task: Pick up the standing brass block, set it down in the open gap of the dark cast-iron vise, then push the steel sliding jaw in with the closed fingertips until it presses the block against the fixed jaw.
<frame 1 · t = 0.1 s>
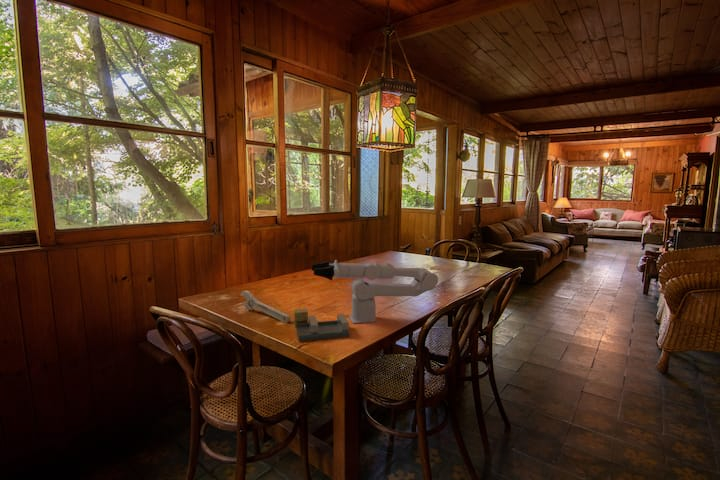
hand: (312, 269, 142), 22 cm above the table, tool horizontal, fingers open, 7 cm apart
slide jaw: (313, 325, 135), point 3 cm above the table, slide at 0.0 cm
wrench: (264, 315, 155), on the table
brass block: (301, 325, 144), on the table
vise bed: (322, 332, 137), on the table
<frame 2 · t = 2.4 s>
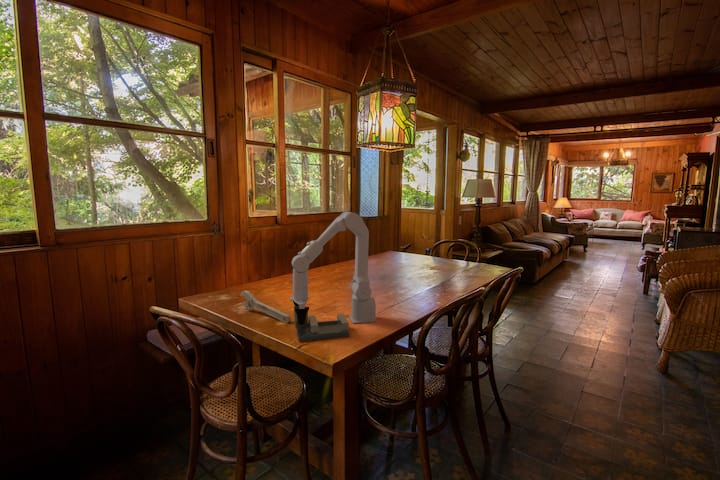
hand: (300, 320, 143), 2 cm above the table, tool pointing down, fingers open, 7 cm apart
nothing on the table moved.
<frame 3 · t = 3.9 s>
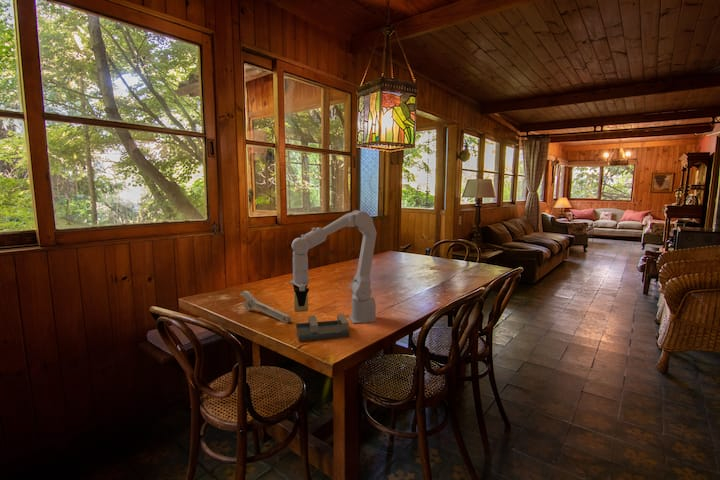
hand: (301, 304, 142), 9 cm above the table, tool pointing down, fingers closed on brass block, 4 cm apart
brass block: (301, 310, 143), point 6 cm above the table, touching gripper
everything else where it was.
when the fingers open (4 cm above the table, at t = 5.8 s): brass block stays where it is, resting on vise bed.
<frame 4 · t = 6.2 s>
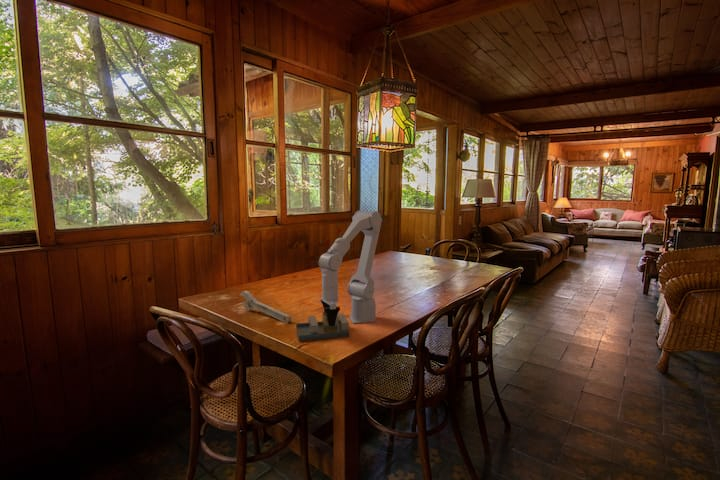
hand: (330, 321, 137), 4 cm above the table, tool pointing down, fingers open, 7 cm apart
brass block: (329, 328, 137), point 1 cm above the table, touching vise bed
everything else where it was.
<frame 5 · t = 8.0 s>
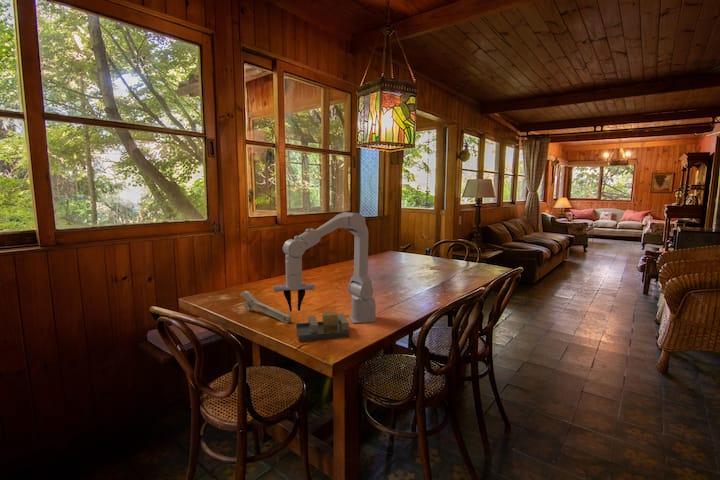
hand: (294, 310, 133), 9 cm above the table, tool pointing down, fingers closed
nothing on the table moved.
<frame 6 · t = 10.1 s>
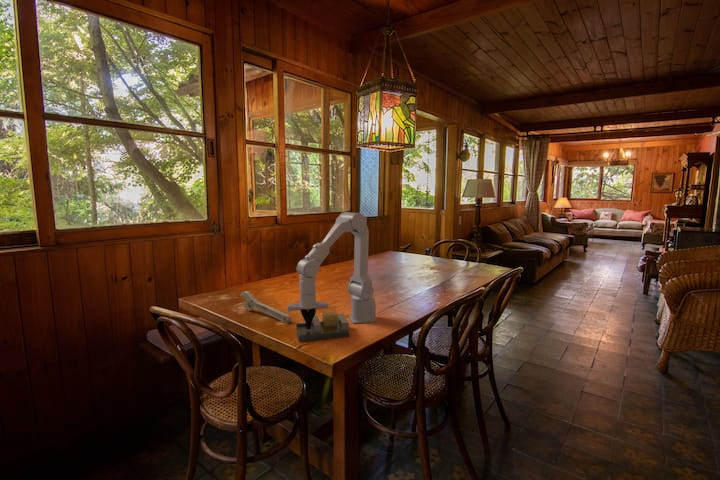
hand: (308, 328, 135), 2 cm above the table, tool pointing down, fingers closed
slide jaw: (315, 324, 135), point 3 cm above the table, slide at 1.0 cm, touching gripper
everything else where it was.
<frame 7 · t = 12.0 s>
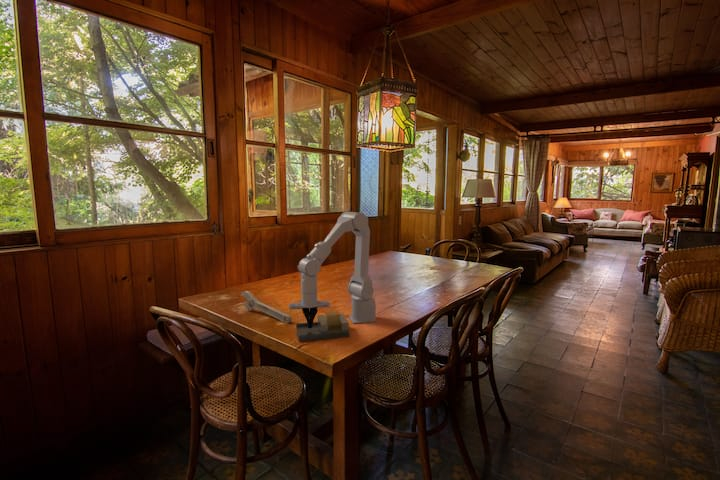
hand: (309, 327, 135), 2 cm above the table, tool pointing down, fingers closed
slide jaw: (322, 324, 136), point 3 cm above the table, slide at 3.5 cm, touching brass block
brass block: (332, 328, 137), point 1 cm above the table, touching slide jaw, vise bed
everything else where it was.
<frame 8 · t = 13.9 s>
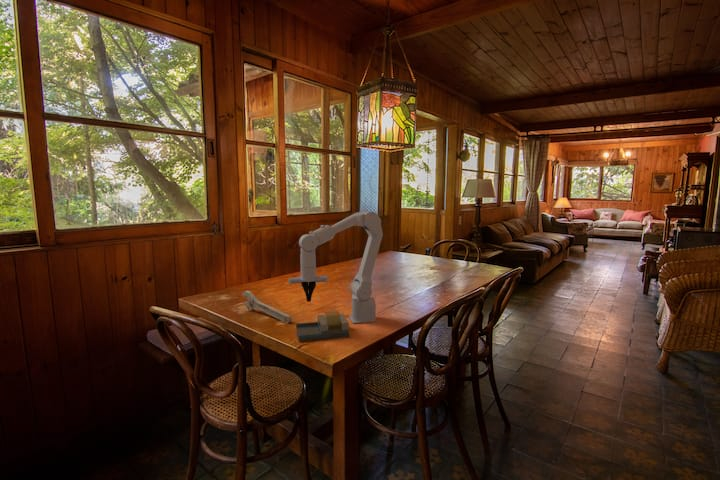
hand: (308, 300, 142), 10 cm above the table, tool pointing down, fingers closed
nothing on the table moved.
at the end: brass block 0.0 cm from the target spot, point 1.2 cm above the table; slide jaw slide at 3.5 cm; brass block tilted 0° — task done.
